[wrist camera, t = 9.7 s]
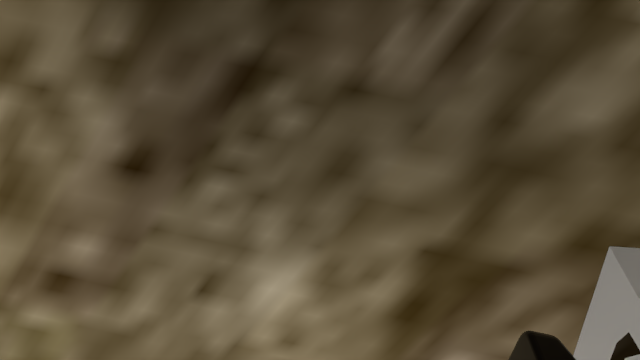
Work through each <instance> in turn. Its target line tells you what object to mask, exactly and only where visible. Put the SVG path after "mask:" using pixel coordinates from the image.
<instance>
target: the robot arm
mask: <svg viewBox="0 0 640 360" xmlns="http://www.w3.org/2000/svg"><path fill="white" fill-rule="evenodd" d="M509 360H576V359H575V358H574V357H573V355H572V354H571V353H570V352H569V351H568V350H567V349H566V347H565V346H564V345H563V344H562V343H561V342H560V341H559V340H558V339H557V338H556V337H554V336H552V335H548V334H544V333H539V332H534V331H526V332H524V333H523V334H522V335H521V336H520V338H519V340H518V342H517V344H516V346H515V348H514V350H513V352H512V354H511V356H510V358H509Z"/></svg>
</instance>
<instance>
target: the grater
mask: <svg viewBox="0 0 640 360" xmlns="http://www.w3.org/2000/svg"><path fill="white" fill-rule="evenodd" d="M628 332H629V333H630V335H631V336H632V338H633V340H634V342H635V343H636V345H637V347H638V348H639V350H640V248H627V247H613V246H609V249H608V252H607V255H606V258H605V261H604V264H603V267H602V270H601V273H600V276H599V279H598V282H597V285H596V289H595V292H594V295H593V298H592V301H591V304H590V307H589V310H588V313H587V316H586V319H585V322H584V325H583V328H582V331H581V334H580V337H579V340H578V343H577V346H576V349H575V352H574V355H573V357H574V358H575V359H576V360H610V359H611V356H612V354H613V351H614V348H615V346H616V343H617V342H618V341H619V340H620V339H622V338H623V337H624V336H625V335H626V334H627V333H628ZM624 360H640V354H639V355H635V356H631V357H627V358H625V359H624Z"/></svg>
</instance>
